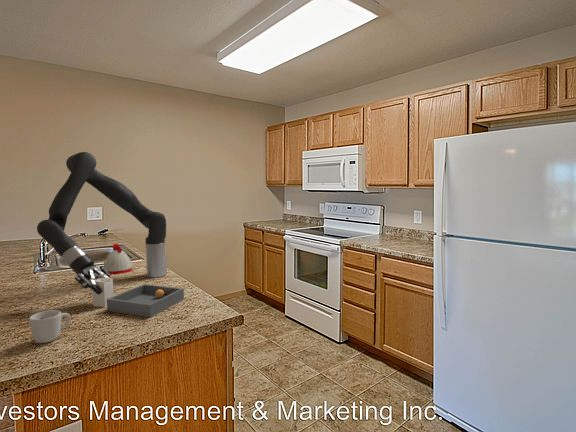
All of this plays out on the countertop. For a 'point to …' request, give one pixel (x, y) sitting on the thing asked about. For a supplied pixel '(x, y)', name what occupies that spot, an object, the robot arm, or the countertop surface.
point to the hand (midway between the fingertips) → (106, 290)
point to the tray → (145, 300)
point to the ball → (159, 293)
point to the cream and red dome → (117, 261)
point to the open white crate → (103, 292)
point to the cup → (47, 325)
